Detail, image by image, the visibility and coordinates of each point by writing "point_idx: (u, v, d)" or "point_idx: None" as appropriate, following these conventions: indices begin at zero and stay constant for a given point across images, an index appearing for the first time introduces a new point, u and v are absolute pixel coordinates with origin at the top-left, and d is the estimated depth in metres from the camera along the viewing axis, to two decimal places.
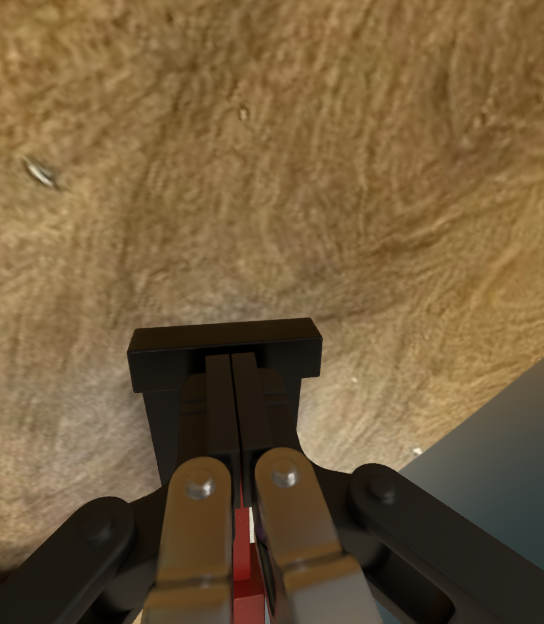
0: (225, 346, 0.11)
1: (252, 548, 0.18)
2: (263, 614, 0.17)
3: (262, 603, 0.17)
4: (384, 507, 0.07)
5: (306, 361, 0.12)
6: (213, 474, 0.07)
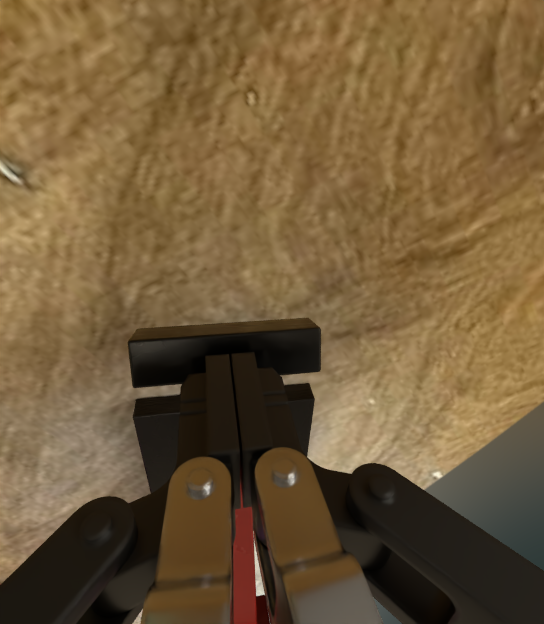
0: (224, 337, 0.12)
1: (259, 601, 0.16)
2: None
3: None
4: (384, 507, 0.07)
5: (306, 354, 0.12)
6: (213, 474, 0.07)
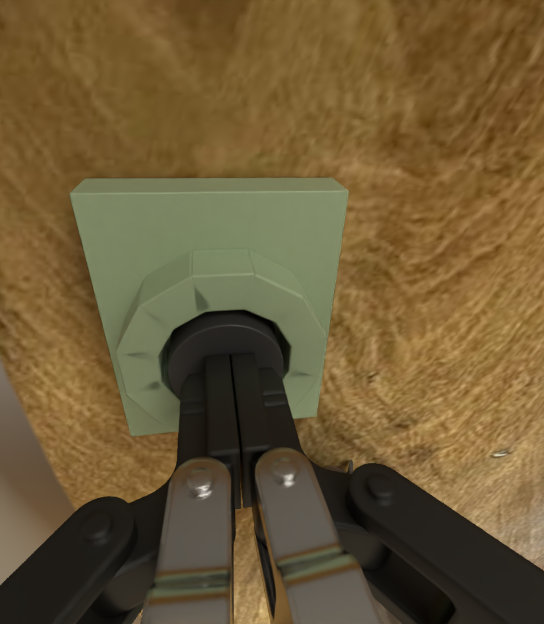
0: None
1: None
2: None
3: None
4: (384, 507, 0.07)
5: None
6: (213, 474, 0.07)
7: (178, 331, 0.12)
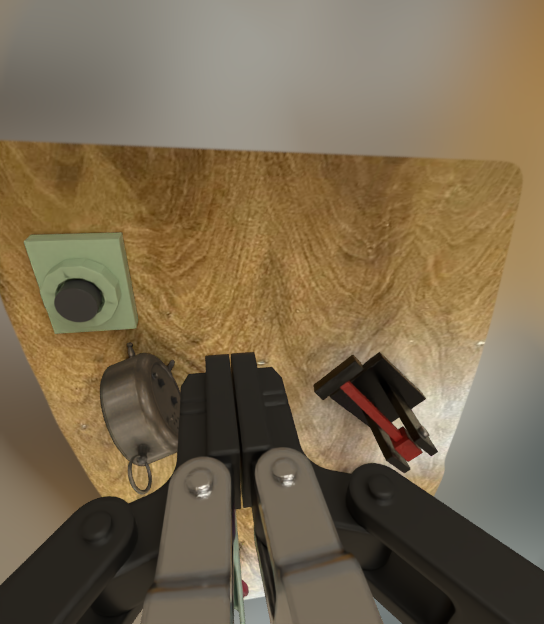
0: (334, 377, 0.42)
1: (401, 428, 0.46)
2: (416, 446, 0.45)
3: (411, 442, 0.45)
4: (384, 507, 0.07)
5: (356, 368, 0.41)
6: (213, 474, 0.07)
7: None
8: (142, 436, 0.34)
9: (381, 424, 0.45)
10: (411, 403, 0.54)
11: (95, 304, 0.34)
